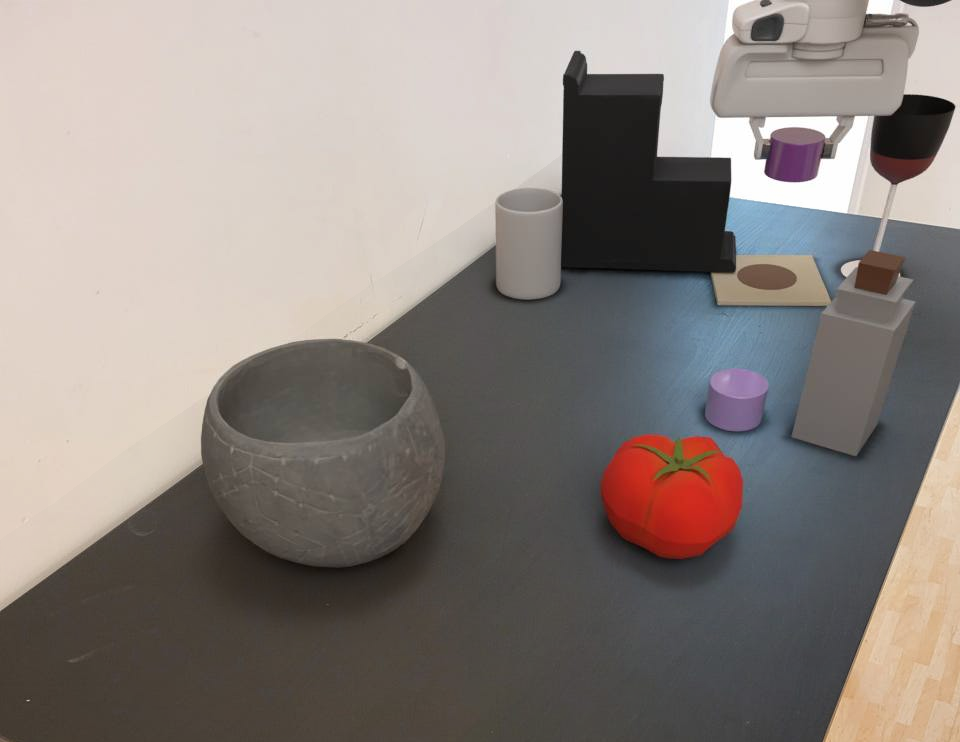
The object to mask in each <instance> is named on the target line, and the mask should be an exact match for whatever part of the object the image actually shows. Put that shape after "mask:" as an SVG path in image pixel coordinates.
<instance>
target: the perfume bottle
mask: <svg viewBox="0 0 960 742" xmlns="http://www.w3.org/2000/svg"><path fill="white" fill-rule="evenodd" d="M860 260H861V261H860V262H859V264H858V267H855V269H854V270H853V271H852V272H851V273H850V274H849V275H848V277H846V278H845V279H844V280H843V281H842V282H841V283H840V284H839V286H837V288H836V296H835V297H834V298H833V299H832V300H831V303H830V304H829V305H828V306H825V309H823V311H822V312H821V313H820V317H819V322H818V326H817V329H816V334H815V338H814V342H813V348H812V351H811V355H810V357H809V358H810V359H809V362H808V367H807V370H806V376H805V379H804V383H803V387H802V392H801V396H800V400H799V403H798V407H797V408H798V409H797V412H796V417H795V421H794V425H793V429H792V434H791V438H793V439H796V440H800V441H802V442H806V443H810V444H813V445H815V446H816V445H817V446H820V447H823V448H827V449H829V450H833V451H836V452H839V453H842V454H843V453H844V454H846V455H849V456H853V457H857V455H859V453H860V451H861V450H862V449H863V447H864V446H865V444H866V442H867V441H868V440H869V438H870V436H871V435H872V433H873V432H874V430H875V429H876V427H877V426H878V422H879V419H880V417H881V413H882V410H883V407H884V403H885V401H886V398H887V394H888V391H889V389H890V385H891V381H892V379H893V375H894V372H895V369H896V366H897V362H898V359H899V356H900V353H901V350H902V347H903V344H904V340H905V337H906V334H907V331H908V327H909V324H910V321H911V318H912V315H913V311H914V308H915V305H916V301H915V300H911V299H906V298H904V297H906V294H907V292H908V290H909V288H910V287H911V285H912V283H913V281H914V279H913V278H907V277H903V276H900V277H899V273H900V274H901V271H902V267H903V265H904V263H905V260H906V257H905V256H902V255H897V254H893V253H886V252H883V251H882V252H881V251H879V252H878V251H873V249H869V250H868V252H867V253H866V254H865V255H864V256H863V257H862V258H861V259H860Z"/></svg>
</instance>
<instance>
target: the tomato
mask: <svg viewBox="0 0 960 742" xmlns="http://www.w3.org/2000/svg"><path fill="white" fill-rule="evenodd" d="M599 485H600V497H601V501H602V504H603V508H604V511H605V514H606V516H607V519H608V520H609V523H610V524H611V526H612V527H613V528H614V529H615V531H616V532H617V533H618V535H620V537H621V538H622V539H624V540H625V541H627V542H629V543H631V544H634V545H636V546H638V547H641V548H643V549H645V550H647V551H649V553H652V554H653V555H655V556H657V557H659V558H661V559H662V558H663V559H673V560H684V559H688V558H694V557H699V556H702V555H703V554H704V553H705V552H706V551H707V550H709V549H710V548H711V547H713V545H715V544H716V543H717V542H718V541H720V540H722V539H723V538H725V537H727V536H728V535H729V534H730V533H731V532H732V531H733V530H734V528H735V526H736V524H737V521H738V518H739V516H740V513H741V510H742V508H743V496H744V495H743V493H744V491H743V490H744V479H743V475H742V472H741V468H740V467H739V466H738V464H737V463H736V461H735V460H734V458H732V457H729V456H726V455H725V454H724V450H721V448H720V447H719V446H718V444H717V442H715V440H714V439H713V438H712V437H707V436H699V435H695V436H690V437H685V438H681V437H680V436H678V437H677V439H676V440H675V441H672V440H671V439H670V438H669V436H664V435H659V434H650V433H647V434H643V435H637V436H634V437H632V438H630V439H628V440H627V441H625V442H623V443H622V444H621V445H620V447H619V448H618V449H617V450H616V452H615V454H614V456H613V458H611V460H610V462H609V464H608V465H607V466H606V468H605V469H604V471H603V473H602V477H601V480H600V484H599Z"/></svg>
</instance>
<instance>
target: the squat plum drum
mask: <svg viewBox="0 0 960 742" xmlns="http://www.w3.org/2000/svg"><path fill="white" fill-rule="evenodd" d="M825 138H827V137H826V135H825V134H824V133H823V132H821V131H820V130H817V129H814V128H809V127H799V126H790V127H782V128H777V129H775V130H773V131H772V132H771V133H770V135H769V140H770V142H771V150H770V151H769V154H770V155H769V159H765V163H764V170H763V173H764V175H765V176H766V177H767V178H769V179H772V180H775V181H777V182H778V181H779V182H782V183H805V182H810V181H813V180H815V179H816V178H817V177H818V175H819V172H820V171H819V170H820V167H821V161H822V159H821V157H822V152H823V148H824V143H825Z"/></svg>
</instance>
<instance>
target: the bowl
mask: <svg viewBox="0 0 960 742" xmlns="http://www.w3.org/2000/svg"><path fill="white" fill-rule="evenodd" d="M446 448H447V447H446V442H445V437H444V432H443V428H442V424H441V420H440V417H439V412H438V409H437V407H436V405H435V403H434V401H433V398H432V396H431V392H430V391H429V389H428V387H427V385H426V384H425V382H424V380H423V378H422V377H421V375H420V374H419V373H418V371H417V370H416V368H414V367H413V366H412V365H411V364H410V363H409V362H408V361H407V360H405V359H404V358H403V357H401V356H400V355H399V354H397V353H395V352H393V351H391V350H389V349H387V348H385V347H382V346H379V345H376V344H373V343H368V342H363V341H358V340H351V339H343V338H342V339H341V338H317V339H316V338H315V339H305V340H297V341H292V342H288V343H284V344H281V345H277V346H274V347H270V348H266V349H265V350H261V351H260V352H257V353H255V354H252V355H249V356H248V357H246V358H244V359H241V360H240V361H238V362H237V363H235V364H233V365H232V366H231V367H230V368H229V369H228V370H227V371H225V372H224V373H223V374H222V375H221V376H220V377H219V378H218V380H217V381H216V383H214V385H213V387H212V389H211V391H210V393H209V395H208V397H207V400H206V403H205V408H204V412H203V418H202V424H201V434H200V455H201V462H202V467H203V472H204V475H205V479H206V482H207V485H208V487H209V489H210V491H211V494H212V496H213V498H214V500H215V502H216V504H217V505H218V506H219V508H220V510H221V511H222V512H223V514H224V515H225V517H226V518H227V520H228V521H229V522H230V524H232V526H234V528H235V529H236V530H237V531H238V532H239V533H240V534H241V535H242V536H243V537H245V538H246V539H247V540H249V541H250V542H251V543H252V544H254V546H257V547H258V548H260V549H262V550H263V551H265V552H267V553H268V554H270V555H272V556H275V557H278V558H280V559H283V560H287V561H290V562H293V563H297V564H300V565H304V566H310V567H319V568H321V567H322V568H338V569H339V568H348V567H349V568H350V567H355V566H359V565H362V564H366V563H370V562H373V561H375V560H379V559H380V558H382V557H384V556H387V555H389V554H391V553H392V552H394V551H396V550H397V549H398V548H399V547H400V546H402V545H404V544H405V543H406V542H407V541H409V539H410V538H411V537H412V536H413V534H415V533H416V532H417V530H418V529H419V527H420V525H421V524H422V523H423V522H424V520H425V519H426V517H427V516H428V514H429V512H430V510H431V509H432V506H433V505H434V503H435V501H436V498H437V497H438V494H439V492H440V488H441V484H442V481H443V477H444V474H443V473H444V470H445V462H446V450H447V449H446Z"/></svg>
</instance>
